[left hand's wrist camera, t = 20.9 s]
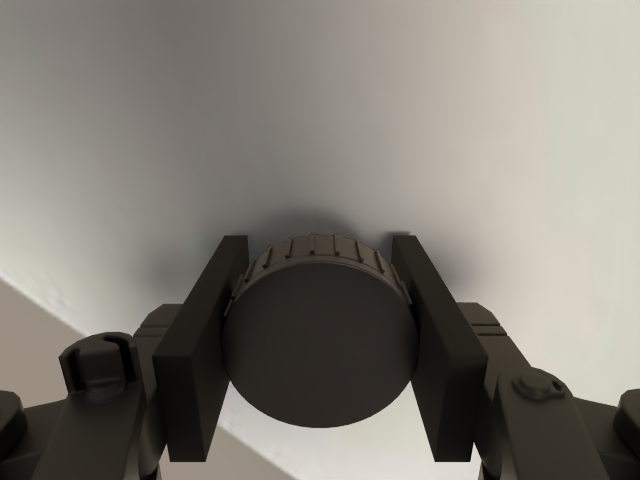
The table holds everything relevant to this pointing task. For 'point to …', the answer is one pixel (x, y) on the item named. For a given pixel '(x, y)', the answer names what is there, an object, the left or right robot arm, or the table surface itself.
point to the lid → (320, 332)
